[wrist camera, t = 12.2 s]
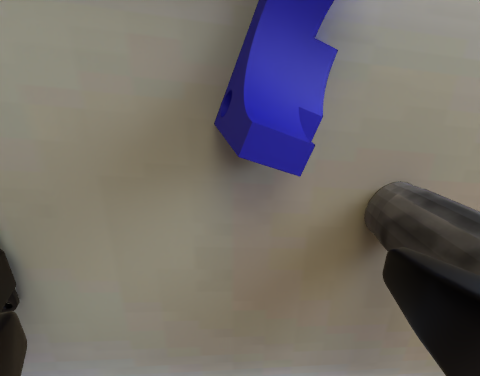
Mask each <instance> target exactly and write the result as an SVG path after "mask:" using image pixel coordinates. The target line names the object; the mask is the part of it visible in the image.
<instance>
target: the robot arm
mask: <svg viewBox="0 0 480 376" xmlns="http://www.w3.org/2000/svg"><path fill="white" fill-rule="evenodd" d="M383 279H384V282H385V284H386V285H387V287H388V289H389V290H390V292H391V294H392V295H393V297H394V299H395V300H396V302H397V304H398V305H399V307H400V309H401V310H402V312H403V314H404V315H405V317H406V319H407V320H408V322H409V324H410V325H411V327H412V329H413V330H414V332H415V333H416V335H417V336H418V338H419V339H420V341H421V342H422V343H423V345H424V346H425V347H426V349H427V350H428V352H429V353H430V354H431V356H432V357H433V358H434V360H435V361H436V363H437V364H438V365H439V367H440V368H441V369H442V371H443V372H444V374H445V375H446V376H480V275H478V274H475V273H473V272H470V271H467V270H465V269H462V268H459V267H457V266H454V265H451V264H449V263H446V262H443V261H441V260H438V259H435V258H433V257H430V256H427V255H425V254H422V253H419V252H417V251H414V250H411V249H409V248H406V247H399V248H393V249H390V250H389V251H388V252H387V256H386V260H385V265H384V269H383ZM15 287H16V282H15V280H14V277H13V274H12V272H11V269H10V266H9V264H8V261H7V258H6V256H5V253H4V251H2V250H1V249H0V376H21V372H22V368H23V363H24V359H25V355H26V350H27V339H26V336H25V333H24V331H23V328H22V326H21V323H20V321H19V318H18V316H17V314H16V313H15V312H12V311H14V310H15V309H16V308H17V306H18V304H19V298H18V295H17V292H16V290H15ZM6 302H9V303H11V304H7V303H6Z"/></svg>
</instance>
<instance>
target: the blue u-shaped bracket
mask: <svg viewBox="0 0 480 376" xmlns="http://www.w3.org/2000/svg"><path fill="white" fill-rule="evenodd" d="M333 1H334V0H259V2H258V4H257V7H256V10H255V13H254V15H253V18H252V21H251V24H250V26H249V29H248V32H247V35H246V37H245V40H244V43H243V46H242V48H241V51H240V54H239V57H238V59H237V62H236V65H235V68H234V70H233V73H232V76H231V79H230V81H229V84H228V87H227V90H226V92H225V95H224V98H223V101H222V103H221V106H220V109H219V112H218V114H217V117H216V120H215V123H214V124H215V126H216V127H217V128H218V130H219V131H220V132H221V134H222V135H223V137H224V138H225V139H226V141H227V142H228V143H229V145H230V146H231V147H232V149H233V150H234V152H235V153H236V154H237V156H238V157H240V158H243V159H247V160H250V161H253V162H256V163H259V164H262V165H265V166H269V167H272V168H275V169H278V170H281V171H284V172H287V173H290V174H294V175H297V176H301V174H302V172H303V170H304V168H305V165H306V163H307V161H308V159H309V157H310V155H311V153H312V151H313V149H314V147H315V145H314V144H313V143H312V142H311V141H312V139H313V137H314V135H315V132H316V130H317V128H318V126H319V124H320V122H321V120H322V117H323V99H324V92H325V87H326V83H327V79H328V75H329V72H330V69H331V66H332V63H333V61H334V58H335V56H336V54H337V51H338V50H337V49H335V48H333V47H331V46H329V45H327V44H325V43H323V42H321V41H319V40H317V39H315V36H316V34H317V32H318V29H319V27H320V25H321V23H322V21H323V19H324V17H325V15H326V14H327V12H328V10H329V8H330V6H331V5H332V3H333Z"/></svg>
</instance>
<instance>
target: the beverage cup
mask: <svg viewBox="0 0 480 376" xmlns="http://www.w3.org/2000/svg"><path fill="white" fill-rule="evenodd" d="M365 222H366V225H367V227H368V228H369V230H370V231H371V232H372V233H374V235H375V236H376V237H377V239H378V240H379V242H380V243H381V244H382V245H383V246H384V248H385V249H386V250H387V251H389V250H390V249H393V248H399V247H406V248H409V249H411V250H414V251H417V252H419V253H422V254H425V255H427V256H430V257H433V258H435V259H438V260H441V261H443V262H446V263H449V264H451V265H454V266H457V267H459V268H462V269H465V270H467V271H470V272H473V273H475V274H478V275H480V212H479V211H477V210H474V209H472V208H470V207H467V206H465V205H462V204H460V203H458V202H455V201H453V200H450V199H448V198H446V197H443V196H441V195H439V194H436V193H434V192H431V191H429V190H427V189H422V188H419V187H417V186H413V185H411V184H409V183H406V182H401V181H400V182H394V183H391V184H388V185H386V186H384V187H383V188H381V189H380V190H379V191H378V192H376V193H375V195H374V196H373V197H372V199H371V200H370V201H369V203H368V206H367V208H366V212H365Z"/></svg>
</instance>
